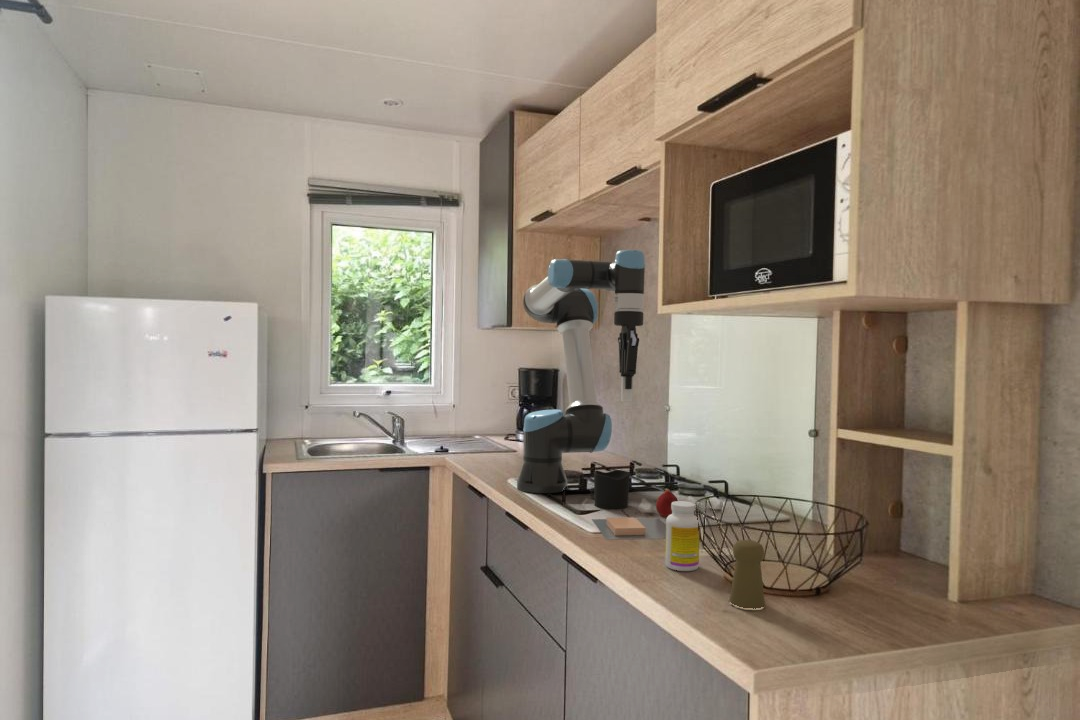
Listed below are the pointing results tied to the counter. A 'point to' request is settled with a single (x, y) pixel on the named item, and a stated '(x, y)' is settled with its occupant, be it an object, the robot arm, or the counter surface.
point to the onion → (665, 503)
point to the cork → (747, 575)
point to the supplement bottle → (682, 537)
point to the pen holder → (611, 489)
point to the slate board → (653, 531)
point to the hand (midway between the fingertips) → (626, 401)
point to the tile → (625, 526)
